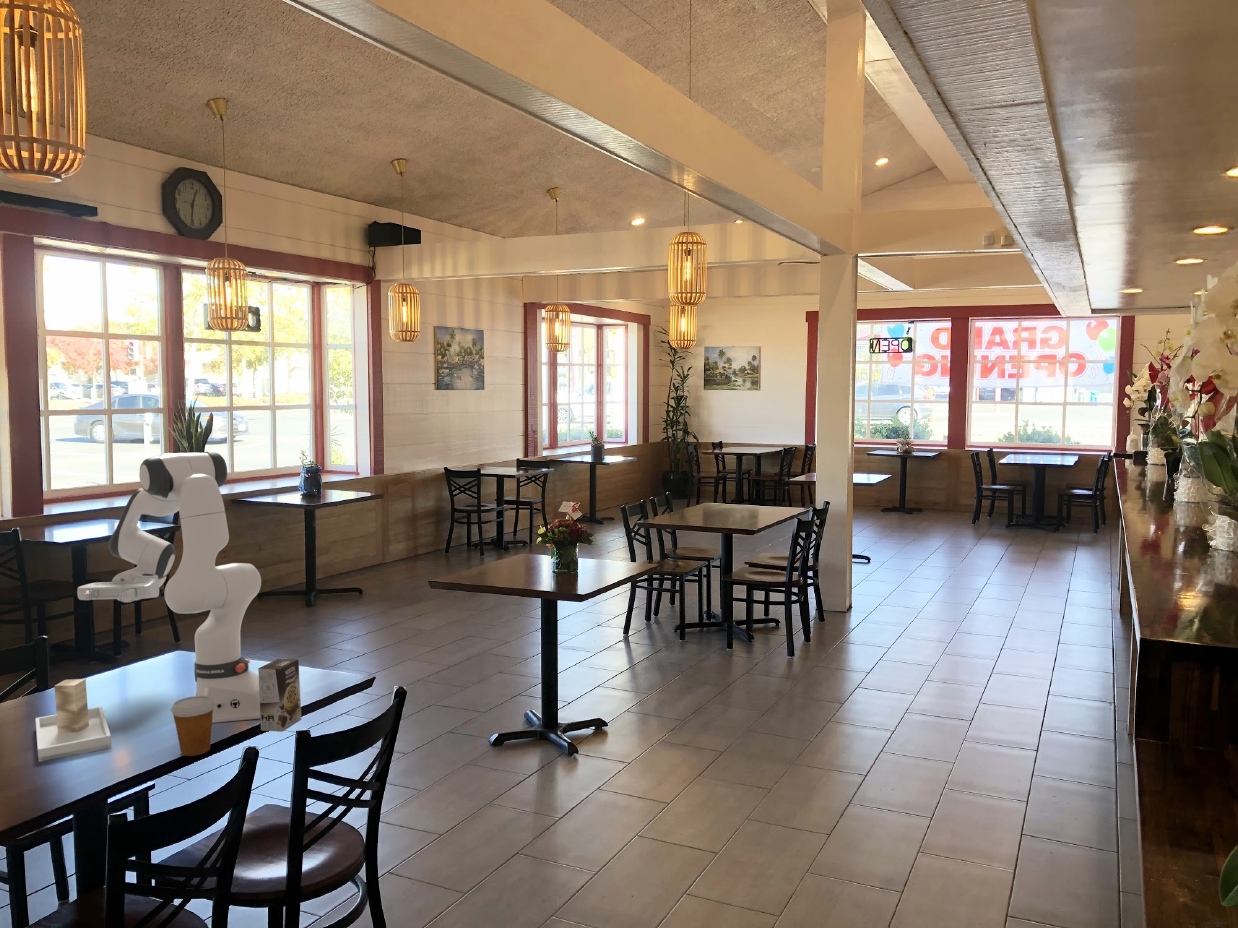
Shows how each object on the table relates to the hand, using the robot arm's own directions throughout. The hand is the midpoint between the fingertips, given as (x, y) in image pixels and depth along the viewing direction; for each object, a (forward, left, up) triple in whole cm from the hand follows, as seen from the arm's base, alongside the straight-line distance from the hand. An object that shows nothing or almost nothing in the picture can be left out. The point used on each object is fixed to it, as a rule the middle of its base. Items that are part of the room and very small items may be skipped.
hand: (103, 596), depth 258 cm
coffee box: (-54, +21, -30) cm, 65 cm away
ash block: (-2, +22, -29) cm, 37 cm away
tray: (-4, +26, -30) cm, 40 cm away
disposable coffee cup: (-39, +37, -30) cm, 62 cm away
